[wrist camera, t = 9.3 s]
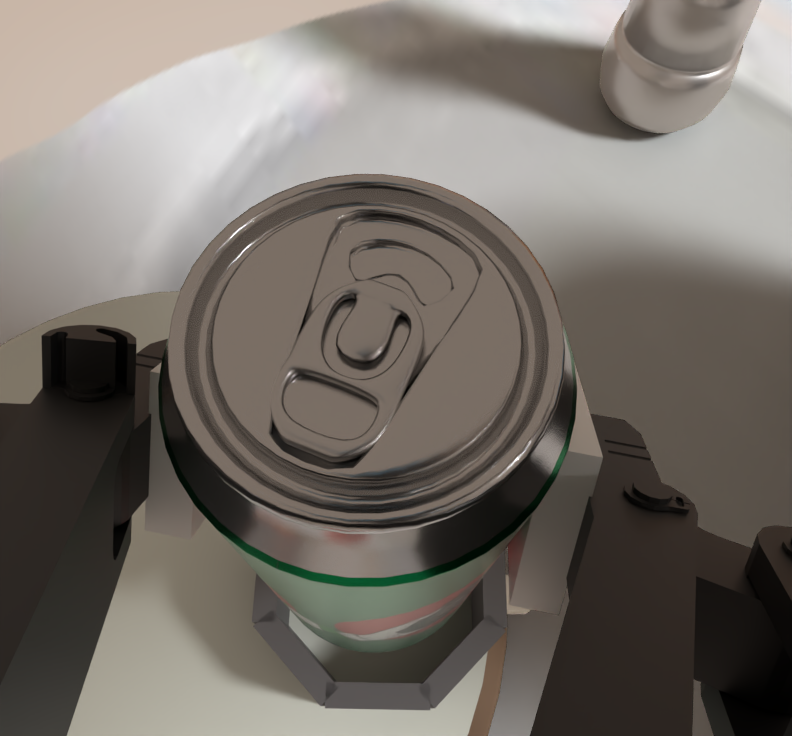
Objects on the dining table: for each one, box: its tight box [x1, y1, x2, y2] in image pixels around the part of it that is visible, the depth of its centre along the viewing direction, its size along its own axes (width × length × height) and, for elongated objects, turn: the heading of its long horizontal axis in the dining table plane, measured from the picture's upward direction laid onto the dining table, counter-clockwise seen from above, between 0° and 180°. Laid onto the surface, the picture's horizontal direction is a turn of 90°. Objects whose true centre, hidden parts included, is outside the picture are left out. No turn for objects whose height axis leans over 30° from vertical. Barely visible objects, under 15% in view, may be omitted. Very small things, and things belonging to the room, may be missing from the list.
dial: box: [0, 291, 531, 736], centre depth 25 cm, size 25×23×5 cm
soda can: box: [158, 174, 577, 653], centre depth 14 cm, size 5×5×12 cm
